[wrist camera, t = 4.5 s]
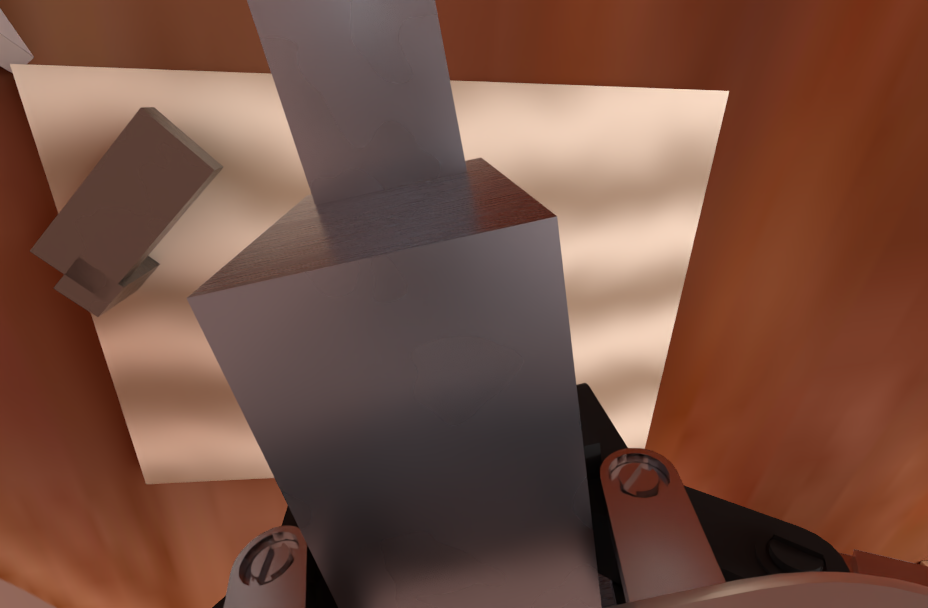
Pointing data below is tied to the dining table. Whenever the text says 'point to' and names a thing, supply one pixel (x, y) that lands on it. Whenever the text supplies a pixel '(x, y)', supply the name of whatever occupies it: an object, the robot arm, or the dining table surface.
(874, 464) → the dining table surface
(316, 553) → the link
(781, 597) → the robot arm
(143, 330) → the board
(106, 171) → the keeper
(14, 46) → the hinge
